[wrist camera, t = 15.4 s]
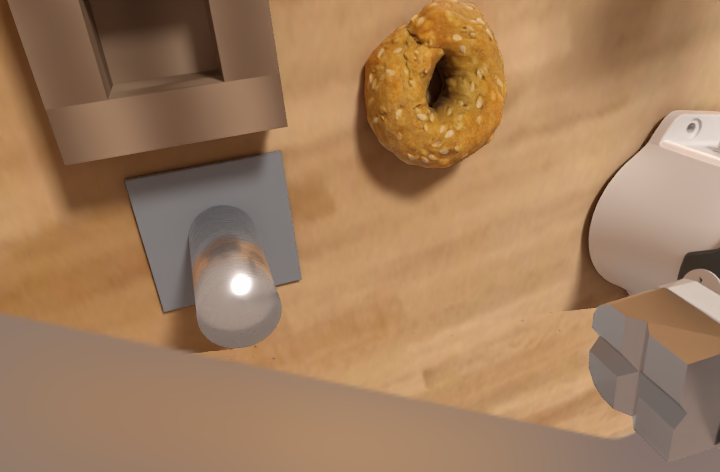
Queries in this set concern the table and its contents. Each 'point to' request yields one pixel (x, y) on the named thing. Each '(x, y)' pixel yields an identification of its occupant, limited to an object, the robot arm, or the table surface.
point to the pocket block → (150, 72)
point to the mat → (199, 192)
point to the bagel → (458, 94)
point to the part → (231, 279)
